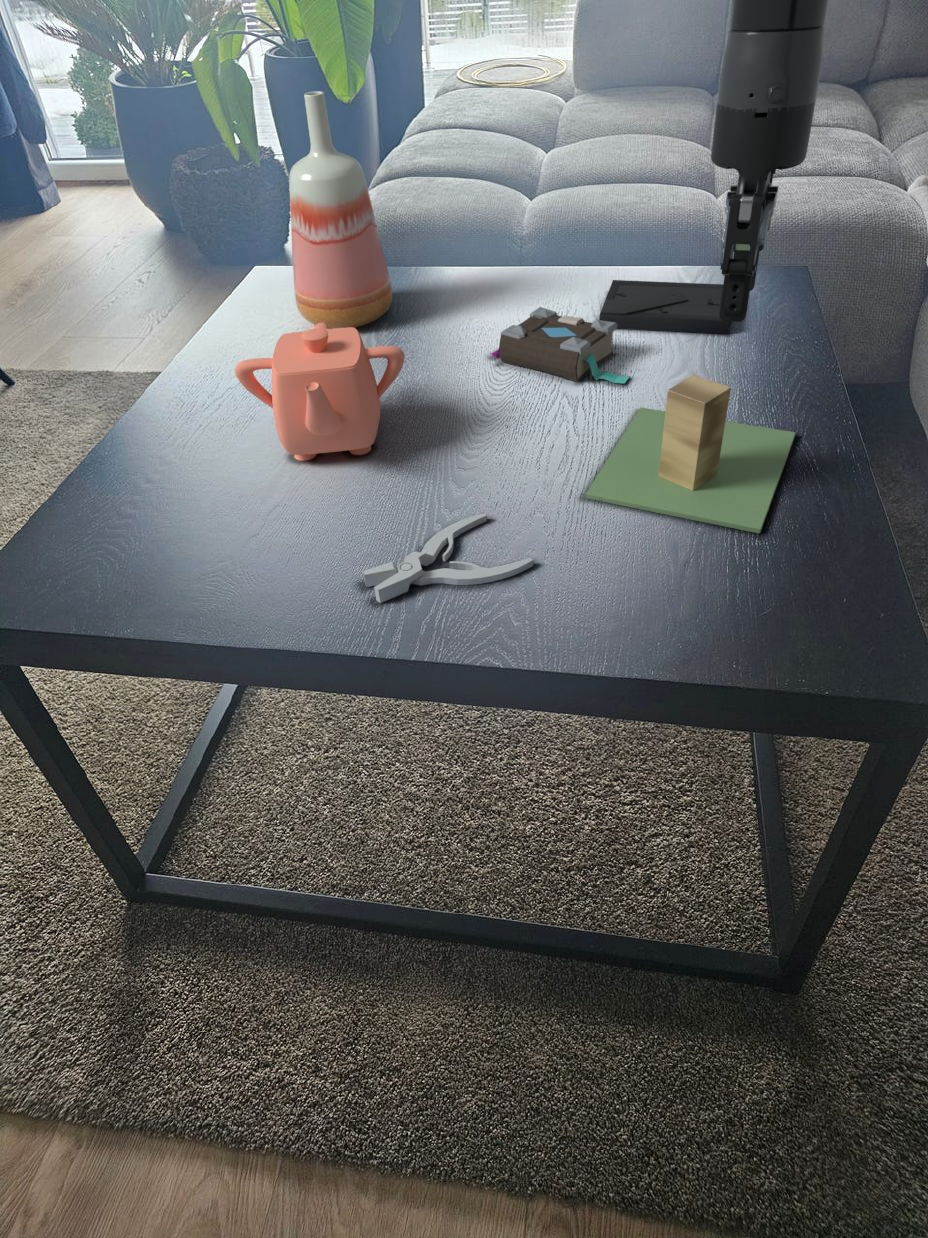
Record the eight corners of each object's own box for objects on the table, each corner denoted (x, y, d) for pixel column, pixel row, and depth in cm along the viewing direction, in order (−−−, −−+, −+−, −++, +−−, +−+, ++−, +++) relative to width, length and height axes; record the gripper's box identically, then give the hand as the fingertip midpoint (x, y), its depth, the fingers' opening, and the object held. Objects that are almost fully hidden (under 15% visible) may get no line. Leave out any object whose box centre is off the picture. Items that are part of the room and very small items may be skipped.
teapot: (331, 396, 111) (313, 295, 102) (426, 427, 103) (415, 321, 95) (234, 454, 101) (205, 348, 93) (331, 493, 94) (309, 381, 85)
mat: (794, 436, 97) (796, 432, 97) (760, 534, 84) (761, 529, 83) (640, 411, 103) (640, 407, 103) (585, 498, 90) (585, 493, 90)
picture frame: (599, 327, 122) (727, 334, 118) (599, 312, 121) (730, 318, 117) (611, 292, 132) (731, 297, 128) (612, 277, 130) (733, 282, 126)
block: (682, 459, 94) (693, 374, 87) (717, 474, 91) (731, 387, 84) (658, 476, 91) (667, 389, 85) (692, 491, 89) (705, 403, 82)
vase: (317, 298, 137) (281, 83, 117) (404, 300, 134) (382, 80, 115) (286, 336, 126) (240, 106, 107) (380, 338, 124) (350, 104, 104)
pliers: (534, 553, 81) (391, 609, 76) (534, 567, 82) (393, 623, 77) (482, 504, 88) (348, 553, 83) (483, 517, 89) (350, 566, 84)
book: (658, 357, 114) (661, 320, 111) (613, 394, 107) (616, 356, 104) (532, 328, 124) (532, 293, 120) (483, 360, 116) (482, 324, 113)
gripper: (727, 86, 74) (704, 279, 84) (706, 110, 64) (683, 328, 74) (819, 84, 72) (784, 283, 82) (813, 109, 61) (775, 334, 71)
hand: (736, 304), depth 78 cm, fingers open, 8 cm apart
